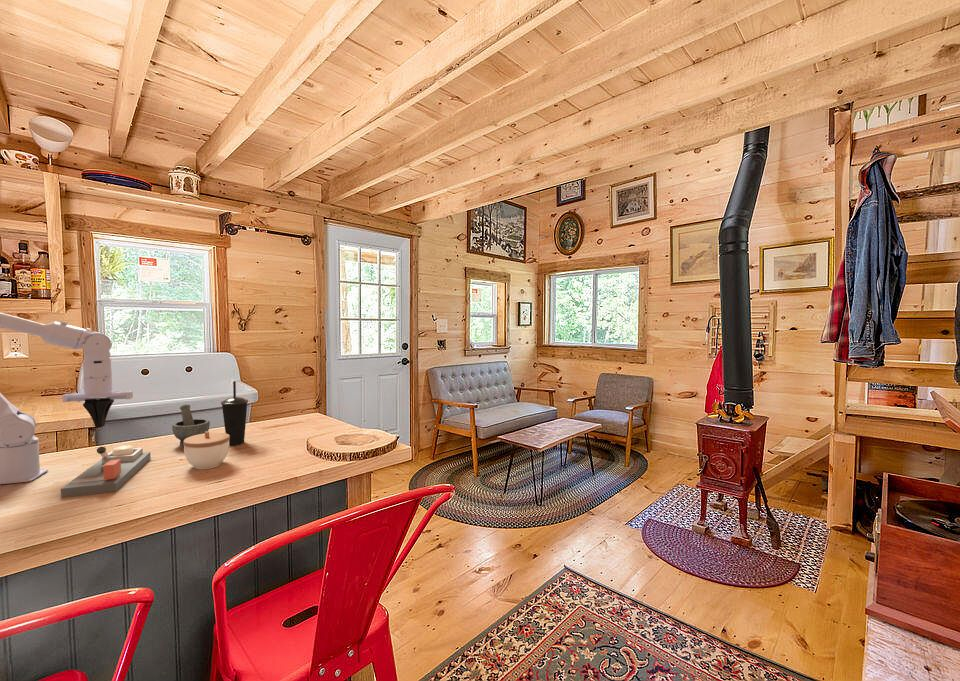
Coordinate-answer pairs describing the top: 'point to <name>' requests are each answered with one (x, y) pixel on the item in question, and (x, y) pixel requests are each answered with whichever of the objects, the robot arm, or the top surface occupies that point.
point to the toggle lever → (103, 453)
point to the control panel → (94, 476)
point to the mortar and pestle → (189, 425)
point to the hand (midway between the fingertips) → (99, 426)
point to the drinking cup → (235, 417)
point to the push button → (122, 450)
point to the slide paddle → (112, 469)
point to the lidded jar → (206, 449)
